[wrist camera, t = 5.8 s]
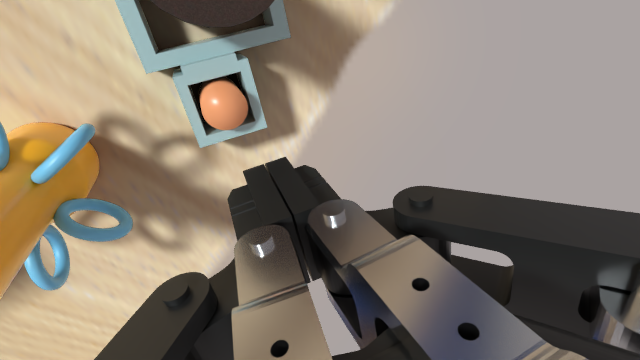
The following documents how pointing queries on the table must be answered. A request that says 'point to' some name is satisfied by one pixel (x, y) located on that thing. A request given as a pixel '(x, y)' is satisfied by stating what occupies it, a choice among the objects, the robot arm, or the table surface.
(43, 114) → the table surface
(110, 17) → the table surface
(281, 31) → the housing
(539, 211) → the robot arm
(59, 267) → the multicoloured piece
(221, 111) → the brown egg
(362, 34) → the table surface
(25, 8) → the table surface
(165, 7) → the deodorant
